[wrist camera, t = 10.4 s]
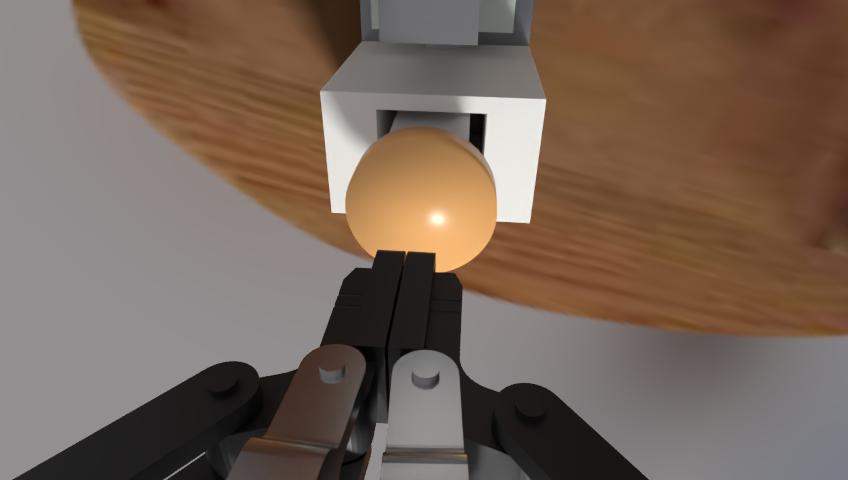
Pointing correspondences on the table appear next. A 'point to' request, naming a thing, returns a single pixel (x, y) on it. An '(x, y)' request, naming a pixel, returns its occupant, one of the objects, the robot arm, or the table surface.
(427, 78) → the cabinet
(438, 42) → the carriage
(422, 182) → the button
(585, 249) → the table surface
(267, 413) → the robot arm
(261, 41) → the table surface
